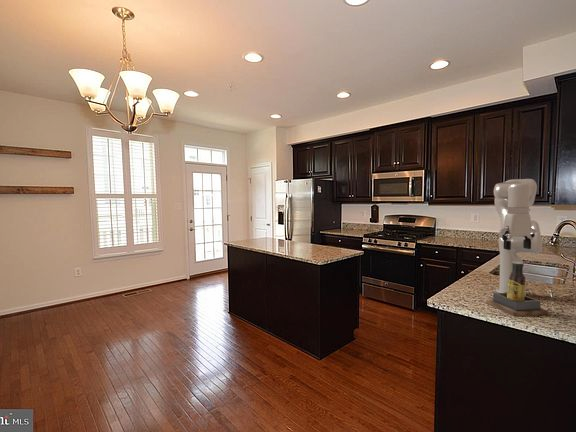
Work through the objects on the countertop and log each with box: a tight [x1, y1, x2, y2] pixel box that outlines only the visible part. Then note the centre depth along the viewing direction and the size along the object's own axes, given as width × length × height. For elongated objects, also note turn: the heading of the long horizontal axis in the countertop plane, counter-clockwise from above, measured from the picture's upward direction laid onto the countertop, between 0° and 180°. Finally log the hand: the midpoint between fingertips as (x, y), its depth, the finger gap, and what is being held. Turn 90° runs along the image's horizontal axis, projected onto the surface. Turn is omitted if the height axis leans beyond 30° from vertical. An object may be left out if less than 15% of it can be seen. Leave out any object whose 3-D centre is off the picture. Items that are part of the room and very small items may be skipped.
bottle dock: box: [486, 292, 549, 317], centre depth 130 cm, size 16×15×6 cm
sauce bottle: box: [507, 262, 526, 301], centre depth 130 cm, size 7×6×20 cm
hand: (517, 248), depth 129 cm, fingers open, 9 cm apart
